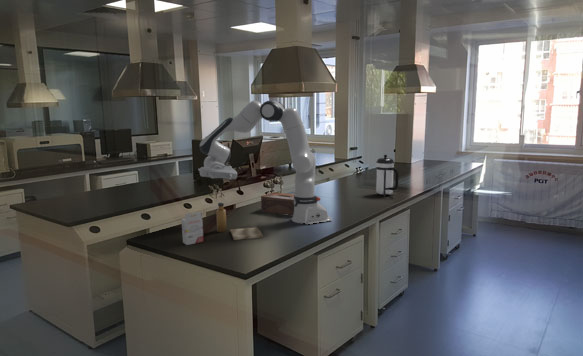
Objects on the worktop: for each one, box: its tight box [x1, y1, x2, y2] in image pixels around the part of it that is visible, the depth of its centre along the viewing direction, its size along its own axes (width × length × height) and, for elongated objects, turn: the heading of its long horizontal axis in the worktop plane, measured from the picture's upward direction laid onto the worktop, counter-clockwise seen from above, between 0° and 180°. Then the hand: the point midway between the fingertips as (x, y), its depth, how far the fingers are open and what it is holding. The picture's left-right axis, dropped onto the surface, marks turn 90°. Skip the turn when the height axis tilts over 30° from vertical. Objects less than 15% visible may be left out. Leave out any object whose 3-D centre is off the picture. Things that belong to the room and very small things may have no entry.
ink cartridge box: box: [181, 211, 204, 246], centre depth 188 cm, size 9×5×15 cm, turn 126°
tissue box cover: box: [260, 191, 295, 216], centre depth 247 cm, size 26×14×10 cm, turn 60°
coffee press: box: [374, 154, 399, 196], centre depth 294 cm, size 17×16×30 cm
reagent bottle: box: [215, 202, 227, 233], centre depth 206 cm, size 5×5×15 cm
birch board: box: [230, 226, 263, 241], centre depth 201 cm, size 14×14×1 cm
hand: (221, 177), depth 212 cm, fingers open, 8 cm apart
